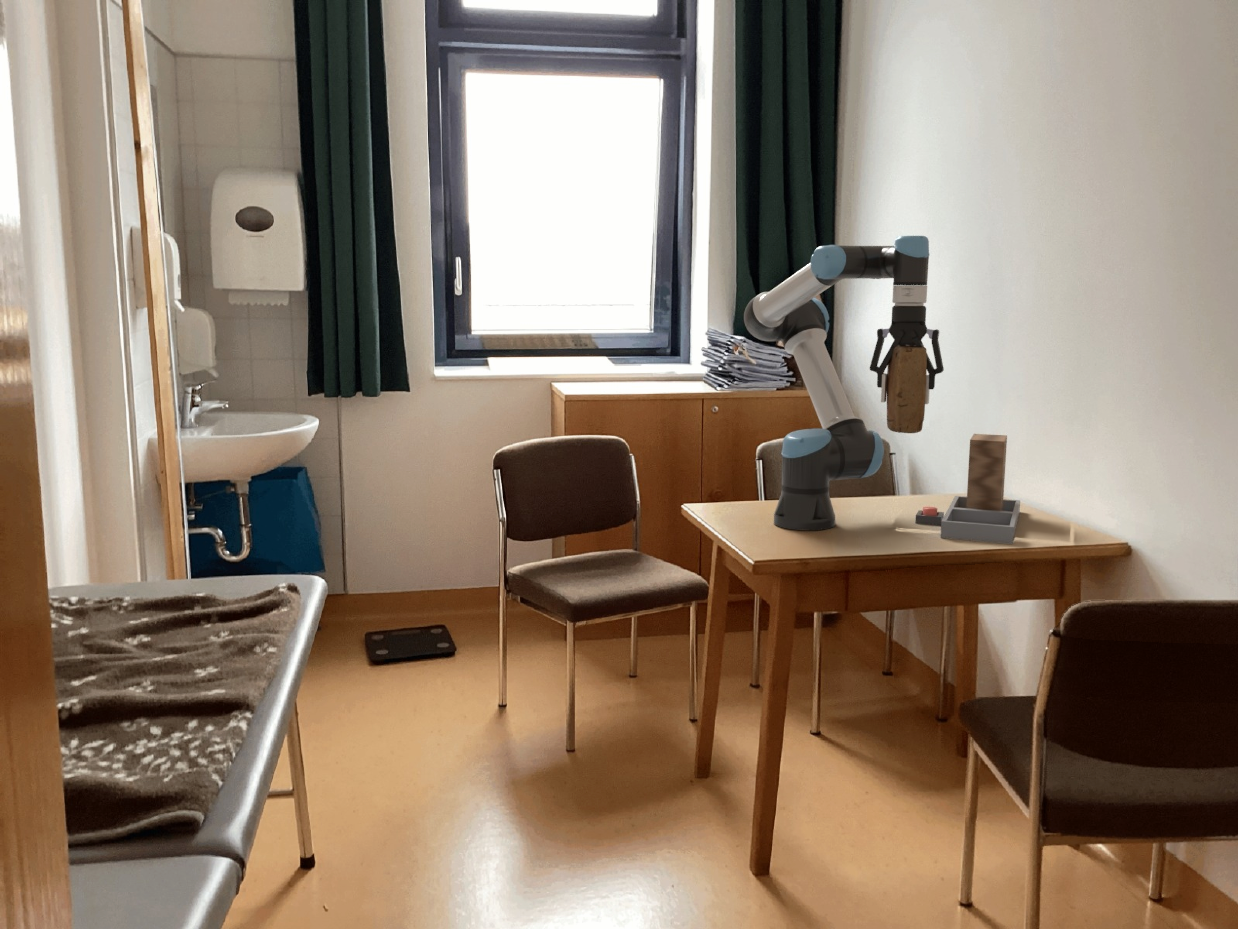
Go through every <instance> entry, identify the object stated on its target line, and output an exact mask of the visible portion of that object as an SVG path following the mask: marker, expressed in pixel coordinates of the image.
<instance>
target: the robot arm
mask: <svg viewBox="0 0 1238 929" xmlns="http://www.w3.org/2000/svg"><path fill="white" fill-rule="evenodd" d="M929 242H930V241H929V237H927V236H925V235H899V236H896V237H895V240H894V245H840V244H839V245H837V244H828V245H820V246H818V247H816V249H815V250H814V251H813V253H812V255H811V256H810V262H809V263H808V264H806V265H805V266H803V267H802V268H800V269H799V270H797V271H796V272H795V273H794V274H792V275H791V276H790V277H788V278H786V279H785V280H784V281H783V282H781V283H779V284H778V285H776V286H775V287H774V288H773V289H771V290H769V291H763V292H761V293H759V294H757V295H756V296H755V297H753V298H752V299H750V301H749V302H748V304H747V305H746V307H745V309H744V313H743V322H744V325H745V327H746V330H747V331H748V333H749V334H750V335H752V336H753V337H754V338H756V339H758V340H760V341H762V342H763V341H764V342H781V343H782V345H783V348H784V350H785V352H786V353H787V354H789V355H792V356H793V357H794V360H795V363H796V364H797V367H798V371H799V372H800V375H801V377H802V381H803V383H804V385H805V388H806V391H807V393H808V395H809V397H810V401H811V402H812V405H813V408H814V410H815V413H816V415H817V417H818V420H819V423H820V425H821V428H806V429H799V430H793V431H791V432H789V433H787V434H786V435H785V437H784V438H783V440H782V448H781V449H782V450H781V456H782V457H781V493H780V496H779V499H778V502H777V505H776V508H775V511H774V513H773V524H774V525H775V526H777V527H780V528H783V529H787V530H794V531H795V530H796V531H821V530H822V531H823V530H829V529H831V528H834V527H835V526H836V514H835V510H834V507H833V505H832V500H831V497H830V481H839V480H850V479H851V480H852V479H863V478H867V477H870V476H873V475H874V474H876V473H877V472H878V471H879V469H880V467H881V466H882V463H883V458H884V453H885V448H884V443H883V442H884V441H883V439H882V437H881V435H880V434H879V433H878V432H875V431H874V430H868V429H867V427H866V425H865V422H864V420H863V419H862V418H861V417H857V416H855V414H854V412H853V409H852V407H851V405H850V402H849V399H848V396H847V395H846V392H845V390H844V387H843V385H842V383H841V380H840V378H839V375H838V374H837V371H836V368H835V366H834V363H833V361H832V358H831V357H830V354H829V352H828V350H827V346H826V344H825V341H826V339H827V336H828V331H829V328H830V322H829V320H830V315H829V313H828V310H827V307H826V306H825V304H824V303H823V302H822V301H821V300H820V299H817V298H816V297H817V296H819V295H820V294H822V293H823V292H824V291H826V290H827V289H829V288H830V287H832V286H834V285H835V284H837V283H838V282H841V281H842V280H845V279H847V280H848V279H850V280H851V279H852V280H853V279H854V280H855V279H872V280H876V279H877V280H881V279H893V283H892V303H893V304H894V305H892V307H891V324H890V326H889V327H888V328H879V329H877V331H876V335H877V339H876V340H877V341H876V342H875V347H874V352H873V355H872V358H871V361H870V366H869V371H871V372H874V373H876V374H877V375H876V376H877V377H876V378H877V380H876V385H877V388H881V390H880V391H881V394H880V396H881V397H880V403H887V373H885V370H886V369H887V368H888V364H889V361H890V359H891V357H892V355H893V350H894V348H895V347H896V346H898V345H900V346H904V345H909V346H916V347H925V345H924V343H923V341H922V340H923V338H924V337H925V335H928V338H929V339H930V340H931V346H932V351H933V357H934V361H935V365H936V366H935V368H934V365H933V363H932V360H931V359H930V357H929V354H928V353H927V373H928V374H927V377H926V398H925V405H928V404H930V390H934V389H935V383H936V375H939V374H942V373H943V372H944V369H945V368H944V365H943V363H944V362H943V359H942V353H941V347H940V343H939V336H940V330H939V329H930V328H928V327H927V324H926V316H927V307H926V305H925V304H926V303H927V302H928V301H927V299H928V298H927V296H928V276H929V257H930V247H929V246H930V243H929ZM889 334H890V336H891V337H892V338H893V342H892V343H891V345H890V347H889V349H888V351H887V353H886V355H885V356H884V358H883V360H882V362H881V363H880V365H879V366H878V364H879V361H880V356H881V353H882V350H883V346H884V342H885V339H886V338H887V337H888V335H889Z"/></svg>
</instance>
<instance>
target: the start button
mask: <svg viewBox="0 0 1238 929" xmlns="http://www.w3.org/2000/svg"><path fill="white" fill-rule="evenodd" d="M922 511H923V515H931V516H937V512H938V507H935V506H923V507H922Z"/></svg>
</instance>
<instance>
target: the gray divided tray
mask: <svg viewBox="0 0 1238 929" xmlns="http://www.w3.org/2000/svg"><path fill="white" fill-rule="evenodd" d="M966 507H967V496H963V495H954V498H953V500H951V503H950V505H949V507H948V508H947V510H946V512H945V513H944V517H943V519H942V521H941V525H940V539H951V540H961V541H974V542H984V543H985V542H986V543H997V544H1007V545H1008V544H1009V545H1013V544H1014V540H1015V533H1016V529H1017V524H1018V520H1019V518H1020V517H1019V516H1020V512H1021V511H1020V510H1021V500H1020V499H1019V500H1018V499H1004V498H1003V511H995V510H982V509H969V508H966Z"/></svg>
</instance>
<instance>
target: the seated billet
mask: <svg viewBox="0 0 1238 929" xmlns="http://www.w3.org/2000/svg"><path fill="white" fill-rule="evenodd" d="M1007 440H1008V435H1004V434H986V433H985V434H984V433H973V435H972V436H971V437H970V439H969V455H968V471H967V473H968V474H967V475H968V476H967V487H966V488H967V491H966V497H967V507H966V508H969V509H982V510H995V511H1003V499H1004V495H1005V494H1004V492H1005V476H1006V459H1007V458H1006V457H1007V445H1008V444H1007V442H1008V441H1007Z"/></svg>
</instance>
